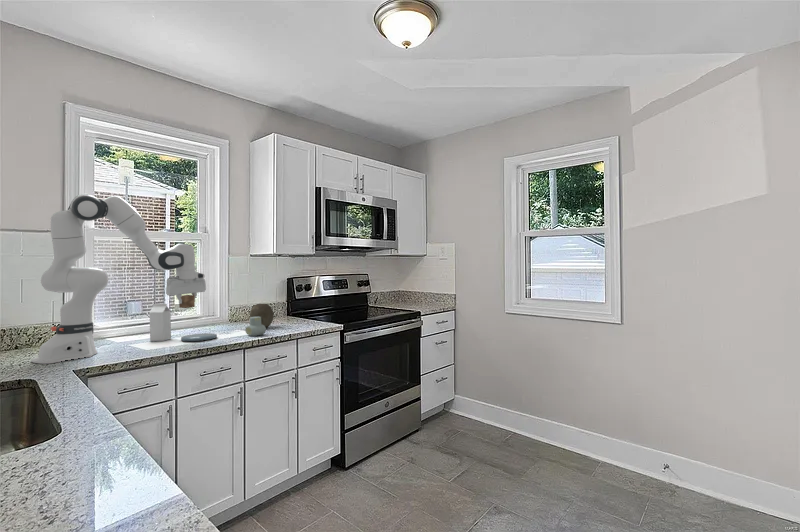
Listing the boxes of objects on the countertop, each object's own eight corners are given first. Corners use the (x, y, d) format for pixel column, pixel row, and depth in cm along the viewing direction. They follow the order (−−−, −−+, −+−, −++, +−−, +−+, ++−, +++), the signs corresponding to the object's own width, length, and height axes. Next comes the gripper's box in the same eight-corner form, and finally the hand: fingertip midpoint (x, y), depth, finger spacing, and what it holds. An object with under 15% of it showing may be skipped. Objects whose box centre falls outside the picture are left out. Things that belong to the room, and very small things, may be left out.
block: (185, 308, 213) (185, 296, 212) (179, 307, 215) (178, 295, 215) (194, 306, 217) (194, 295, 217) (188, 306, 219) (187, 294, 219)
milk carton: (163, 341, 219) (162, 304, 219) (150, 341, 220) (149, 304, 219) (171, 338, 227) (170, 303, 226) (158, 338, 227) (157, 303, 226)
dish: (196, 343, 212) (196, 340, 212) (173, 341, 219) (173, 337, 219) (223, 337, 227) (223, 334, 227) (201, 335, 235) (201, 332, 235)
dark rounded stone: (279, 327, 260) (278, 302, 260) (262, 330, 247) (262, 305, 247) (261, 325, 266) (260, 302, 266) (244, 329, 253) (243, 304, 253)
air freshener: (268, 335, 232) (267, 317, 232) (254, 337, 226) (253, 318, 225) (257, 333, 239) (257, 315, 239) (243, 335, 233) (243, 317, 233)
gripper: (170, 277, 205) (171, 305, 205) (207, 274, 223) (208, 300, 223) (162, 276, 207) (163, 305, 208) (199, 274, 226) (200, 299, 226)
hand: (187, 302), depth 216 cm, fingers closed on block, 5 cm apart
